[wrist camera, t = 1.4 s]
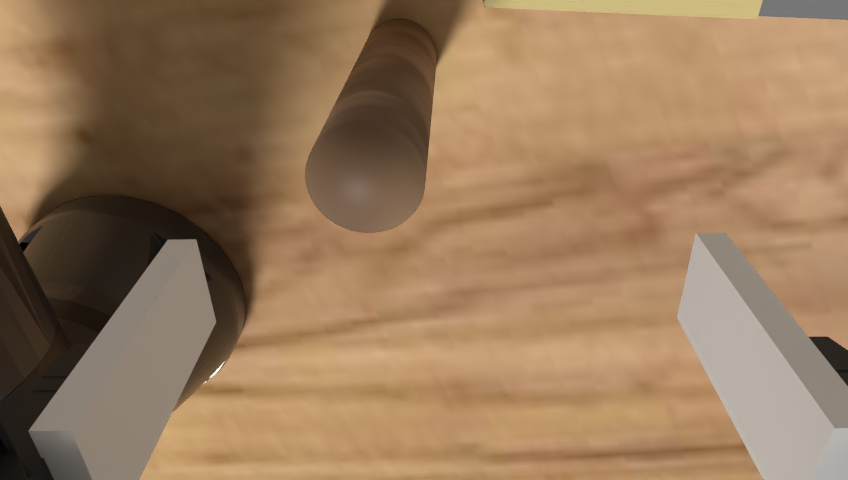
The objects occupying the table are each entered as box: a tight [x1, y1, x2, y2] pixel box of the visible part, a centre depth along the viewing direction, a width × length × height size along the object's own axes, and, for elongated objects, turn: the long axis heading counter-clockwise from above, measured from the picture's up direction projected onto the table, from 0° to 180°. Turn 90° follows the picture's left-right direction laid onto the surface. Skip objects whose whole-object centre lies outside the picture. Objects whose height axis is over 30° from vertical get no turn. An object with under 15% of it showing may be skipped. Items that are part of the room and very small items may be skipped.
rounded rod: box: [305, 19, 437, 233], centre depth 28 cm, size 4×4×16 cm
